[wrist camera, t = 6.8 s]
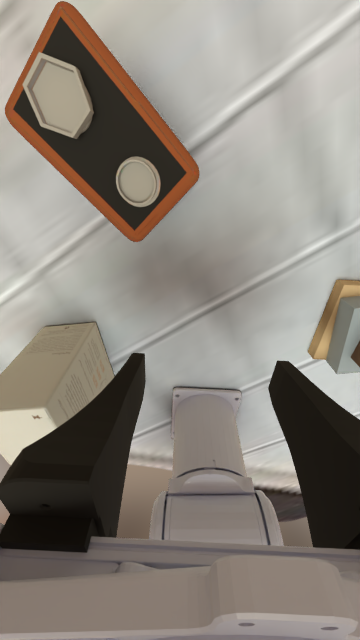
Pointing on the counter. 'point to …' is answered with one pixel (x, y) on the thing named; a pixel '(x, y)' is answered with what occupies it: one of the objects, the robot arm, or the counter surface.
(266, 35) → the counter surface
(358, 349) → the walnut block
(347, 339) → the gray slab
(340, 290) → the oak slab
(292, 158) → the counter surface
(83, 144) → the battery
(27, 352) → the small box
